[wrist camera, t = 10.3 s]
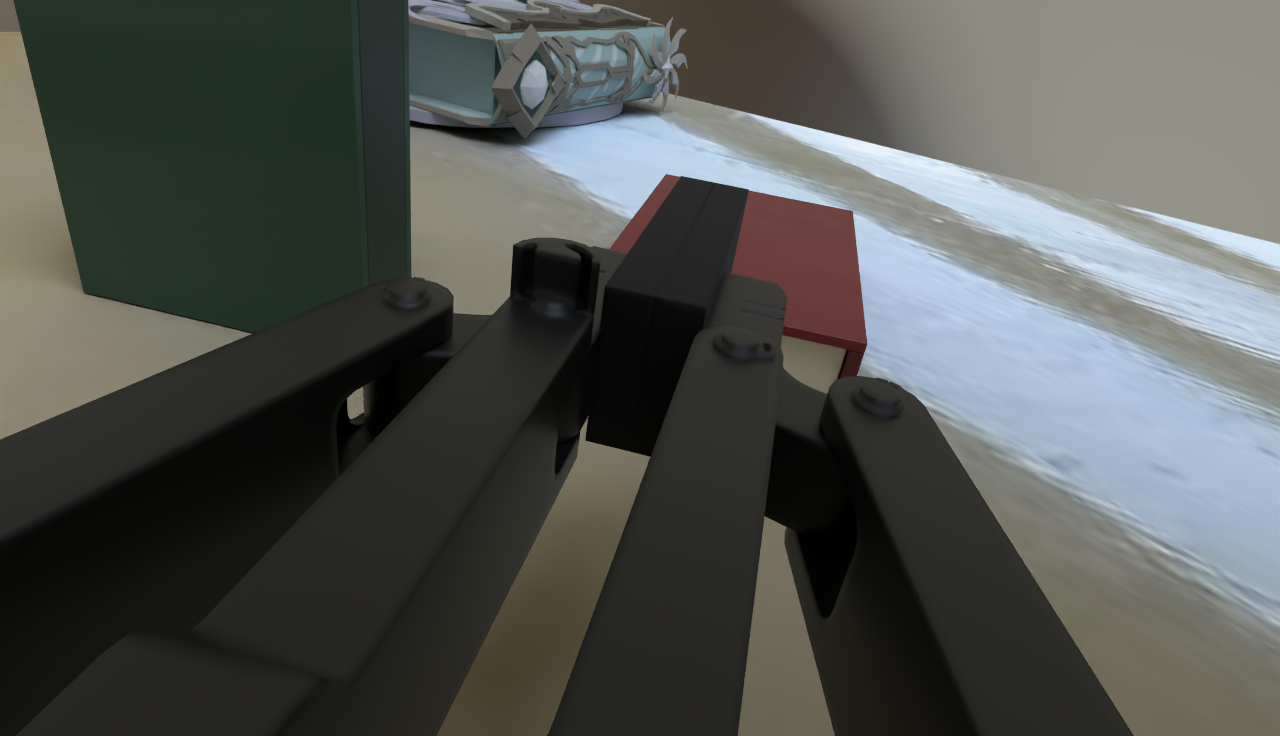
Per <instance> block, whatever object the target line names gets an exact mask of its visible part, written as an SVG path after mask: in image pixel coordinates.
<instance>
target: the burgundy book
mask: <svg viewBox="0 0 1280 736" xmlns="http://www.w3.org/2000/svg"><path fill="white" fill-rule="evenodd" d="M679 179H680V177H678V176H673V175H668V174H666V175H665V176H664V178H663V179H662V180H661V182H660V183H659V184H658V186H657V187H656V188H655V190H654V191H653V192H652V194H651V195H650V196H649V197H648V199H647V200H646V201H645V203H644V204H643V205H642V207H641V208H640V209H639V211H638V212H637V213H636V215H635V216H634V217H633V219H632V220H631V221H630V223H629V224H628V225H627V227H626V228H625V229H624V231H623V232H622V233H621V235H620V236H619V237H618V238H617V240H616V241H615V242H614V244H613V245H612V246H611V248H610V249H609V250H614V251H618V252H623V253H628V252H629V251H630V249H631V248H632V246H633V245H634V243H635V242H636V241H637V239H638V238H639V236H640V235H641V233H642V232H643V231H644V229H645V228H646V226H647V225H648V223H649V222H650V220H651V219H652V218H653V216H654V215H655V213H656V212H657V210H658V209H659V208H660V206H661V205H662V203H663V202H664V200H665V199H666V198H667V196H668V195H669V193H670V192H671V190H672V189H673V187H674V186H675V185H676V183H677V182H678V180H679ZM731 273H732V274H736V275H741V276H746V277H750V278H755V279H760V280H765V281H769V282H774V283H778V285H779V286H780V287H781V289H782V290H783V291H784V293H785V294H786V295H787V302H786V309H785V317H784V325H783V333H782V341H781V349H782V353H783V356H784V360H783V367H784V369H785V370H786V371H787V372H788V373H789V374H790V375H791V376H792V377H794V378H795V379H797V380H798V381H800V382H801V383H803V384H805V385H807V386H809V387H811V388H813V389H816V390H818V391H821V392H823V393H826V394H827V393H828V390H829V387H830V386H831V385H832V383H833V382H834V381H835V380H837V379H841V378H844V377H848V376H857V374H858V371H859V368H860V365H861V361H862V358H863V355H864V352H865V349H866V346H867V338H866V329H865V320H864V311H863V301H862V292H861V283H860V274H859V265H858V255H857V246H856V237H855V228H854V219H853V211H849V210H844V209H839V208H834V207H829V206H824V205H819V204H814V203H809V202H804V201H799V200H794V199H788V198H783V197H778V196H773V195H768V194H763V193H758V192H753V191H749V192H748V197H747V201H746V206H745V211H744V215H743V220H742V225H741V230H740V234H739V239H738V244H737V248H736V253H735V258H734V262H733V267H732V272H731Z"/></svg>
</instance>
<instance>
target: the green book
mask: <svg viewBox="0 0 1280 736" xmlns="http://www.w3.org/2000/svg"><path fill="white" fill-rule="evenodd" d="M14 5H15V9H16V13H17V17H18V21H19V25H20V29H21V34H22V38H23V42H24V46H25V50H26V54H27V58H28V63H29V67H30V71H31V75H32V79H33V83H34V88H35V92H36V96H37V100H38V104H39V108H40V112H41V117H42V121H43V125H44V129H45V133H46V137H47V141H48V146H49V150H50V154H51V158H52V162H53V166H54V171H55V175H56V179H57V183H58V187H59V191H60V195H61V200H62V204H63V208H64V212H65V216H66V220H67V224H68V229H69V233H70V237H71V241H72V245H73V249H74V253H75V258H76V262H77V266H78V270H79V274H80V278H81V283H82V287H83V291H84V292H85V293H89V294H93V295H97V296H102V297H106V298H110V299H114V300H118V301H123V302H127V303H131V304H135V305H139V306H144V307H148V308H152V309H156V310H160V311H165V312H169V313H173V314H177V315H182V316H186V317H190V318H194V319H198V320H203V321H207V322H211V323H215V324H219V325H224V326H228V327H232V328H236V329H241V330H245V331H249V332H253V333H256V332H258V331H260V330H263V329H265V328H267V327H270V326H272V325H275V324H277V323H279V322H282V321H284V320H287V319H289V318H291V317H294V316H296V315H298V314H301V313H303V312H306V311H308V310H310V309H313V308H315V307H317V306H320V305H322V304H325V303H327V302H329V301H332V300H334V299H337V298H339V297H341V296H344V295H346V294H348V293H351V292H353V291H356V290H358V289H360V288H363V287H365V286H367V285H370V284H372V283H376V282H380V281H383V280H387V279H398V278H400V277H411V200H410V101H409V3H408V0H14Z"/></svg>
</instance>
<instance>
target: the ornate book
mask: <svg viewBox="0 0 1280 736" xmlns="http://www.w3.org/2000/svg"><path fill="white" fill-rule="evenodd" d="M408 3H409V101H410V120H412V121H417V122H422V123H427V124H436V125H445V126H458V127H472V128H501V127H515V128H516V129H517V130H518V132H519V133H520V134H521V135H522V137H523V138H524V139H526V138H527V136H528V135H529V134H530V133H531V132H532V131H533V130H534V129H535V128H536V127H554V126H568V125H580V124H585V123H590V122H596V121H601V120H606V119H609V118H612V117H614V116H617V115H619V114H620V113H621V112H622V109H623V103H624V102H628V101H634V100H640V99H646V98H651V97H652V98H651V99H650V100H649V101H647V102H646V103H644V104H646V105H651V104H653V103H654V102H655V100H656V99H657V97H658V96H659V93H660V92H661V90H662V89H663V90H662V92H663V104H662V107H661V109H660V112H659V114H660V113H661V112H662V110H663V109H664V107H665V105H666V102H667V97H668V92H669V76H670V74H671V84H674V85H675V90H676V91H675V93H676V94H675V101H676V97H677V93H678V87H679V81H678V76H677V73H676V72H675V70H674V68H673V66H672V64H674V65H675V66H676V67H677V68H679V66H680V65H681V63H682V62H683V63H684V64H685V66H686V68H687V62H686V57H685V55H683V54H680V53H679V54H677V55H675V56H674V57H673V53H674V52H675V51H677V50H678V45H679V40H680V37H681V36H682V34H683V33H685V32H686V31H687V30H685V29H680V30H679V31H678V32H677V33H676V35H675V36H674V38H673V40H672V43H671V42H670V37H669V30H670V26H671V22H672V19H673V18H672V19H671V20H670V21H669V23H668V24H667V26H666V29H665V26H663V25H661V24H658V23H653V22H651V19H649V18H645V17H642V16H639V15H636V14H633V13H630V12H627V11H625V10H622V9H619V8H616V7H613V6H609V5H602V4H594V6H593V7H590V6H587V5H584V4H580V3H579V1H578V0H408ZM659 114H658V115H659Z"/></svg>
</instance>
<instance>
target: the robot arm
mask: <svg viewBox="0 0 1280 736" xmlns="http://www.w3.org/2000/svg"><path fill="white" fill-rule="evenodd" d="M748 192H749V190H748V189H743V188H738V187H733V186H728V185H723V184H718V183H713V182H708V181H703V180H698V179H693V178H688V177H683V176H681V177H680V179H679V180H678V182H677V183H676V185H675V186H674V187H673V189H672V190H671V192H670V193H669V195H668V196H667V198H666V199H665V200H664V202H663V203H662V205H661V206H660V208H659V209H658V210H657V212H656V213H655V215H654V216H653V218H652V219H651V220H650V222H649V223H648V225H647V226H646V228H645V229H644V231H643V232H642V233H641V235H640V236H639V238H638V239H637V241H636V242H635V243H634V245H633V246H632V248H631V249H630V251H629V252H628V253H623V252H618V251H614V250H609V249H604V248H600V247H595V246H593V247H588V246H586V245H584V244H581V243H578V242H574V241H571V240H565V239H558V238H533V239H528V240H522V241H520V242H519V243H517V244H515V245H513V259H512V275H511V292H510V297H509V298H508V299H507V300H506V301H505V302H504V304H503V305H502V306H501V307H500V308H499V309H498V310H497V311H496V312H495V313H494V314H493V315H471V314H456V313H453V298H454V296H453V295H452V294H451V292H450V291H449V290H448V289H447V288H445V287H443V286H441V285H439V284H437V283H434V282H430V281H426V280H425V279H423V278H416V277H414V278H413V279H412V277H400V278H398V279H387V280H383V281H380V282H376V283H372V284H370V285H367V286H365V287H363V288H360V289H358V290H356V291H353V292H351V293H348V294H346V295H344V296H341V297H339V298H337V299H334V300H332V301H329V302H327V303H325V304H322V305H320V306H317V307H315V308H313V309H310V310H308V311H306V312H303V313H301V314H298V315H296V316H294V317H291V318H289V319H287V320H284V321H282V322H279V323H277V324H275V325H272V326H270V327H267V328H265V329H263V330H260V331H258V332H256V333H253V334H251V335H248V336H246V337H244V338H241V339H239V340H236V341H234V342H232V343H229V344H227V345H225V346H222V347H220V348H217V349H215V350H213V351H210V352H208V353H206V354H203V355H201V356H198V357H196V358H194V359H191V360H189V361H186V362H184V363H182V364H179V365H177V366H175V367H172V368H170V369H167V370H165V371H163V372H160V373H158V374H156V375H153V376H151V377H148V378H146V379H144V380H141V381H139V382H136V383H134V384H132V385H129V386H127V387H125V388H122V389H120V390H117V391H115V392H113V393H110V394H108V395H105V396H103V397H101V398H98V399H96V400H94V401H91V402H89V403H86V404H84V405H82V406H79V407H77V408H75V409H72V410H70V411H67V412H65V413H63V414H60V415H58V416H55V417H53V418H51V419H48V420H46V421H44V422H41V423H39V424H36V425H34V426H32V427H29V428H27V429H25V430H22V431H20V432H17V433H15V434H13V435H10V436H8V437H5V438H3V439H1V440H0V736H436V735H437V733H438V731H439V729H440V727H441V725H442V723H443V721H444V719H445V717H446V715H447V713H448V711H449V709H450V707H451V705H452V703H453V701H454V699H455V697H456V695H457V693H458V691H459V689H460V687H461V685H462V683H463V681H464V679H465V677H466V676H467V674H468V672H469V670H470V668H471V666H472V664H473V662H474V660H475V658H476V656H477V654H478V652H479V650H480V648H481V646H482V644H483V642H484V640H485V638H486V636H487V634H488V632H489V630H490V628H491V626H492V624H493V622H494V620H495V618H496V616H497V614H498V612H499V610H500V608H501V606H502V604H503V602H504V600H505V598H506V596H507V594H508V592H509V591H510V589H511V587H512V585H513V583H514V581H515V579H516V577H517V575H518V573H519V571H520V569H521V567H522V565H523V563H524V561H525V559H526V557H527V555H528V553H529V551H530V549H531V547H532V545H533V543H534V541H535V539H536V537H537V535H538V533H539V531H540V529H541V527H542V525H543V523H544V521H545V519H546V517H547V515H548V513H549V511H550V509H551V507H552V506H553V504H554V502H555V500H556V498H557V496H558V494H559V492H560V490H561V488H562V486H563V484H564V482H565V480H566V478H567V476H568V474H569V472H570V470H571V468H572V466H573V464H574V462H575V460H576V458H577V453H578V446H579V438H580V430H581V428H582V426H583V425H584V423H585V421H586V419H587V417H588V424H587V432H586V440H585V441H589V442H593V443H597V444H601V445H606V446H610V447H614V448H618V449H622V450H626V451H630V452H634V453H638V454H642V455H646V456H650V460H649V463H648V465H647V468H646V471H645V474H644V476H643V479H642V482H641V484H640V487H639V490H638V493H637V495H636V498H635V501H634V504H633V506H632V509H631V512H630V514H629V517H628V520H627V523H626V525H625V528H624V531H623V533H622V536H621V539H620V542H619V544H618V547H617V550H616V552H615V555H614V558H613V561H612V563H611V566H610V569H609V572H608V574H607V577H606V580H605V582H604V585H603V588H602V591H601V593H600V596H599V599H598V601H597V604H596V607H595V610H594V612H593V615H592V618H591V621H590V623H589V626H588V629H587V631H586V634H585V637H584V640H583V642H582V645H581V648H580V650H579V653H578V656H577V659H576V661H575V664H574V667H573V669H572V672H571V675H570V678H569V680H568V683H567V686H566V689H565V691H564V694H563V697H562V699H561V702H560V705H559V708H558V710H557V713H556V716H555V718H554V721H553V723H552V726H551V728H550V731H549V733H548V735H547V736H738V728H739V719H740V711H741V703H742V695H743V687H744V678H745V670H746V662H747V654H748V646H749V638H750V629H751V621H752V613H753V605H754V597H755V589H756V580H757V572H758V564H759V556H760V548H761V539H762V531H763V523H764V516H766V517H768V518H770V519H772V520H774V521H776V522H778V523H780V524H782V525H784V526H786V531H785V547H786V551H787V555H788V559H789V563H790V566H791V570H792V574H793V578H794V582H795V585H796V589H797V593H798V597H799V601H800V604H801V608H802V612H803V616H804V620H805V623H806V627H807V631H808V635H809V639H810V642H811V646H812V650H813V654H814V658H815V661H816V665H817V669H818V673H819V676H820V680H821V684H822V688H823V692H824V695H825V699H826V703H827V707H828V711H829V714H830V718H831V722H832V726H833V730H834V733H835V736H1134V735H1133V734H1132V732H1131V731H1130V729H1129V728H1128V726H1127V724H1126V723H1125V721H1124V720H1123V718H1122V717H1121V715H1120V713H1119V712H1118V710H1117V709H1116V707H1115V706H1114V704H1113V702H1112V701H1111V699H1110V698H1109V696H1108V694H1107V693H1106V691H1105V690H1104V688H1103V687H1102V685H1101V683H1100V682H1099V680H1098V679H1097V677H1096V676H1095V674H1094V672H1093V671H1092V669H1091V668H1090V666H1089V665H1088V663H1087V661H1086V660H1085V658H1084V657H1083V655H1082V653H1081V652H1080V650H1079V649H1078V647H1077V646H1076V644H1075V642H1074V641H1073V639H1072V638H1071V636H1070V635H1069V633H1068V631H1067V630H1066V628H1065V627H1064V625H1063V624H1062V622H1061V620H1060V619H1059V617H1058V616H1057V614H1056V612H1055V611H1054V609H1053V608H1052V606H1051V605H1050V603H1049V601H1048V600H1047V598H1046V597H1045V595H1044V594H1043V592H1042V590H1041V589H1040V587H1039V586H1038V584H1037V583H1036V581H1035V579H1034V578H1033V576H1032V575H1031V573H1030V571H1029V570H1028V568H1027V567H1026V565H1025V564H1024V562H1023V560H1022V559H1021V557H1020V556H1019V554H1018V553H1017V551H1016V549H1015V548H1014V546H1013V545H1012V543H1011V541H1010V540H1009V538H1008V537H1007V535H1006V534H1005V532H1004V530H1003V529H1002V527H1001V526H1000V524H999V523H998V521H997V519H996V518H995V516H994V515H993V513H992V512H991V510H990V508H989V507H988V505H987V504H986V502H985V500H984V499H983V497H982V496H981V494H980V493H979V491H978V489H977V488H976V486H975V485H974V483H973V482H972V480H971V478H970V477H969V475H968V474H967V472H966V471H965V469H964V467H963V466H962V464H961V463H960V461H959V459H958V458H957V456H956V455H955V453H954V452H953V450H952V448H951V447H950V445H949V444H948V442H947V441H946V439H945V437H944V436H943V434H942V433H941V431H940V430H939V428H938V426H937V425H936V423H935V422H934V420H933V418H932V417H931V415H930V414H929V412H928V411H927V409H926V407H925V406H924V405H923V404H922V403H921V402H920V401H919V400H918V399H917V398H916V397H915V396H914V395H912V394H911V393H909V392H907V391H906V390H904V389H903V388H901V386H899V385H897V384H895V383H892V382H890V383H888V381H887V380H884V379H880V378H875V379H874V378H869V377H862V376H848V377H844V378H841V379H837V380H835V381H834V382H833V383H832V385H831V386H830V387H829V390H828V393H827V394H826V393H823V392H821V391H818V390H816V389H813V388H811V387H809V386H807V385H805V384H803V383H801V382H800V381H798V380H797V379H795V378H794V377H792V376H791V375H790V374H789V373H788V372H787V371H786V370H785V369H784V367H783V360H784V356H783V353H782V349H781V341H782V333H783V325H784V317H785V309H786V302H787V295H786V294H785V293H784V291H783V290H782V289H781V287H780V286H779V285H778V283H774V282H769V281H765V280H760V279H755V278H750V277H746V276H741V275H736V274H732V273H731V272H732V267H733V262H734V258H735V253H736V248H737V244H738V239H739V234H740V230H741V225H742V220H743V215H744V211H745V206H746V201H747V197H748ZM361 387H363V397H364V413H362V414H361V415H359V416H357V417H356V418H353V419H349V416H348V411H347V398H348V397H349V396H350V395H351V394H352V393H353V392H354V391H356V390H357V389H359V388H361ZM588 415H589V416H588Z"/></svg>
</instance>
